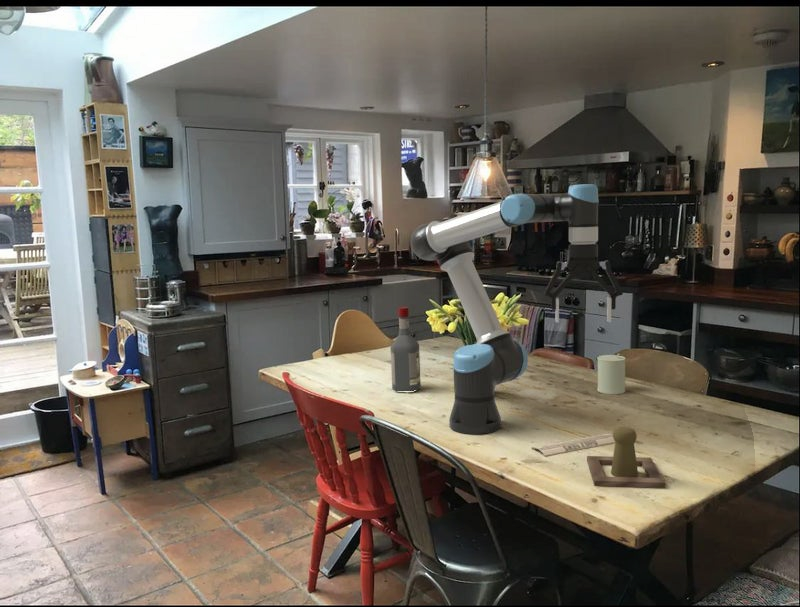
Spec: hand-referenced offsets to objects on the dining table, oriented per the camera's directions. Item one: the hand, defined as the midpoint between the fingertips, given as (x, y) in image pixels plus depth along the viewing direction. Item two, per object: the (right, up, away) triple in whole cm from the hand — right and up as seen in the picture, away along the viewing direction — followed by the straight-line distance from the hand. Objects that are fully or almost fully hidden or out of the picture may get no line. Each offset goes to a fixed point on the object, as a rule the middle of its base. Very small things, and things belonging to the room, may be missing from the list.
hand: (582, 321), depth 173 cm
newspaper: (-3, -34, -5) cm, 34 cm away
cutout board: (+3, -35, -24) cm, 42 cm away
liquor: (-47, -26, +57) cm, 79 cm away
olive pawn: (+3, -35, -24) cm, 43 cm away
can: (+23, -25, +46) cm, 57 cm away
